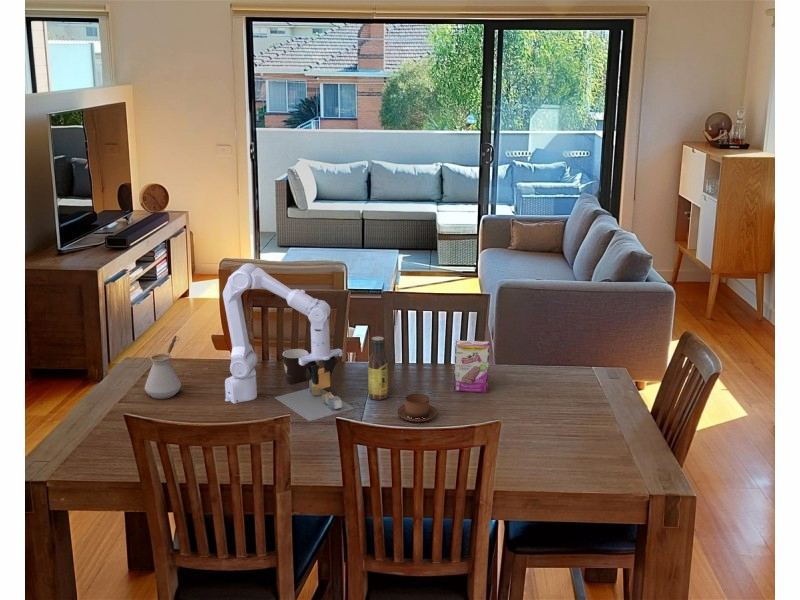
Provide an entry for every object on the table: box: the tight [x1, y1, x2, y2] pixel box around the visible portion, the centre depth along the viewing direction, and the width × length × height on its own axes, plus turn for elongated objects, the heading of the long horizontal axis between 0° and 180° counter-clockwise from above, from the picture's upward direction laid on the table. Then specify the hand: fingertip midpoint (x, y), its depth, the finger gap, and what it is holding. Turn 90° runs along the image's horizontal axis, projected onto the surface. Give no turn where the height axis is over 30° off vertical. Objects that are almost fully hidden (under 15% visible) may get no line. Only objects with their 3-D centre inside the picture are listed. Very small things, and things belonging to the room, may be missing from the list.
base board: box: [274, 387, 355, 422], centre depth 274 cm, size 16×22×2 cm
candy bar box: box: [453, 339, 491, 394], centre depth 286 cm, size 11×5×16 cm, turn 84°
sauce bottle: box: [367, 335, 389, 401], centre depth 280 cm, size 7×6×20 cm
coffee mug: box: [282, 348, 309, 385], centre depth 295 cm, size 12×9×10 cm
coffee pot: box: [144, 335, 182, 400], centre depth 287 cm, size 21×12×15 cm, turn 174°
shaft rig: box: [308, 379, 343, 411], centre depth 276 cm, size 6×20×4 cm, turn 36°
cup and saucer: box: [396, 393, 438, 423], centre depth 267 cm, size 12×12×6 cm
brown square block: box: [313, 367, 331, 390], centre depth 274 cm, size 4×4×5 cm
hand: (321, 381), depth 274 cm, fingers closed on brown square block, 4 cm apart
